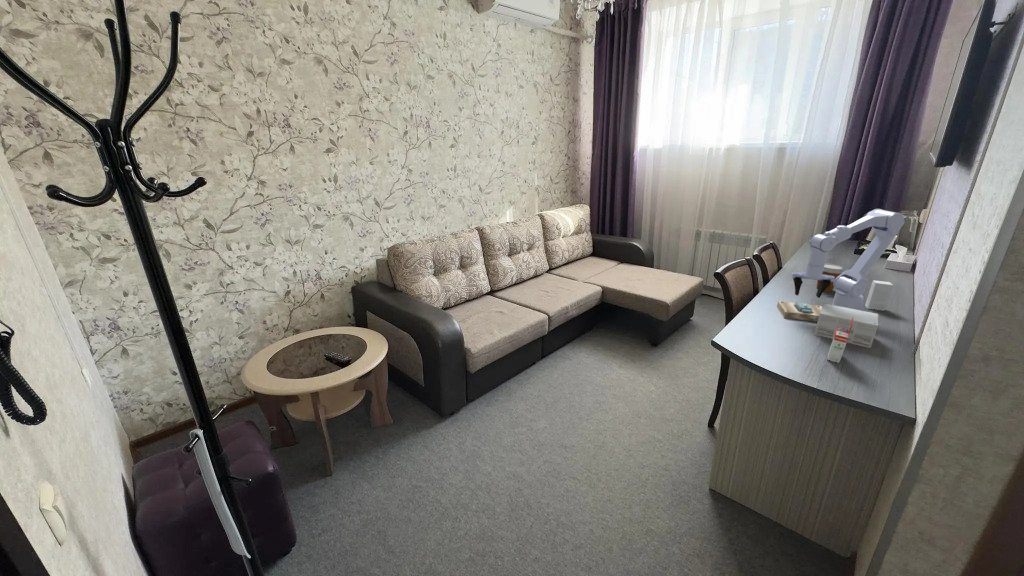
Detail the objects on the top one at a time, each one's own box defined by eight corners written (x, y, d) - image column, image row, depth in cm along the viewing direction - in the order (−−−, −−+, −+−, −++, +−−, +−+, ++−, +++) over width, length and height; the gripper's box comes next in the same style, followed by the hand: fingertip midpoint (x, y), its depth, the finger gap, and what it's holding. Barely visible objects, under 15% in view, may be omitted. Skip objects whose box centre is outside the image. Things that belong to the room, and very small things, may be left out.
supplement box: (871, 335, 156) (879, 313, 153) (870, 349, 147) (879, 325, 143) (817, 323, 166) (823, 302, 163) (813, 335, 157) (820, 312, 153)
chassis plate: (819, 311, 177) (820, 305, 176) (829, 323, 166) (831, 316, 165) (776, 306, 181) (778, 300, 180) (783, 317, 171) (785, 311, 170)
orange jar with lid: (815, 291, 198) (822, 267, 194) (810, 285, 206) (816, 262, 202) (839, 294, 195) (846, 270, 191) (833, 287, 203) (840, 264, 199)
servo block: (804, 310, 177) (806, 300, 176) (810, 319, 169) (813, 308, 167) (793, 309, 179) (796, 298, 177) (799, 317, 170) (802, 307, 169)
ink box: (826, 360, 139) (838, 321, 134) (828, 351, 145) (840, 313, 140) (839, 363, 137) (853, 324, 132) (841, 354, 143) (854, 316, 138)
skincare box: (881, 307, 181) (890, 282, 176) (884, 311, 177) (894, 285, 173) (864, 305, 183) (872, 279, 179) (867, 308, 179) (875, 283, 175)
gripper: (833, 263, 167) (824, 294, 172) (792, 259, 172) (784, 290, 177) (840, 268, 161) (830, 300, 166) (797, 264, 166) (789, 296, 170)
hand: (807, 295), depth 171 cm, fingers open, 7 cm apart
